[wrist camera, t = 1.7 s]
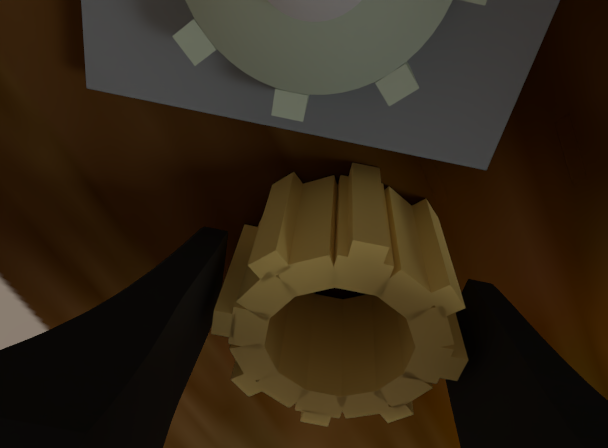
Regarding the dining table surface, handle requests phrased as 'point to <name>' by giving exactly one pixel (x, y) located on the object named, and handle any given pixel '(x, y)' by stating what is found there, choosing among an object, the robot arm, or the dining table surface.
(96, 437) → the robot arm
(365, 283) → the loose gear
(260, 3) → the gear board
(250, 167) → the dining table surface
